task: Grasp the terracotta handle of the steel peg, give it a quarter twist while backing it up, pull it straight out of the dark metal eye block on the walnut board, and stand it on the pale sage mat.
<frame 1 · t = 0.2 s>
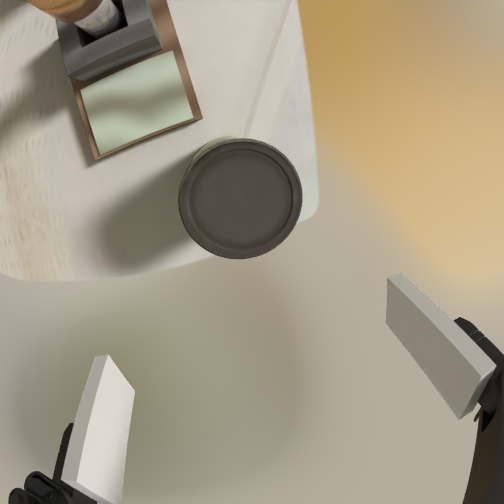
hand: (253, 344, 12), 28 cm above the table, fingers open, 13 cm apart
board: (127, 67, 29), on the table
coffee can: (229, 175, 37), on the table
peg: (115, 32, 25), point 2 cm above the table, touching board
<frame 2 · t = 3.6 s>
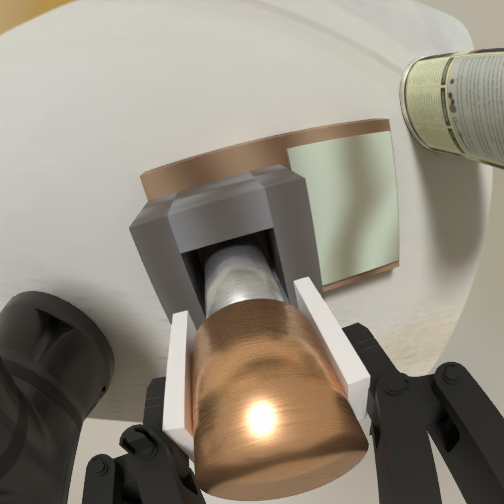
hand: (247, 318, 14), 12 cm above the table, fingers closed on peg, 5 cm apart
board: (285, 218, 25), on the table
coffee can: (435, 103, 22), on the table
peg: (230, 242, 23), point 2 cm above the table, touching board, gripper
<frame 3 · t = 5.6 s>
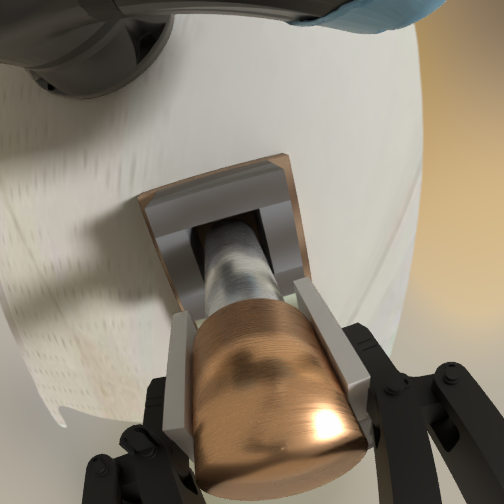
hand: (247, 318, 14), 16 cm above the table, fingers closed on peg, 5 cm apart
board: (237, 264, 31), on the table
peg: (230, 242, 23), point 7 cm above the table, touching gripper
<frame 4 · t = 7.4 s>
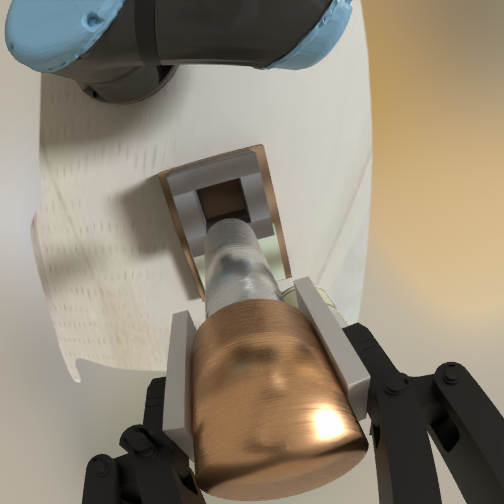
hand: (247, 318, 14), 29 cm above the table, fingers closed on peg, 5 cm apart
board: (228, 224, 42), on the table
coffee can: (301, 307, 50), on the table
peg: (230, 243, 23), point 19 cm above the table, touching gripper
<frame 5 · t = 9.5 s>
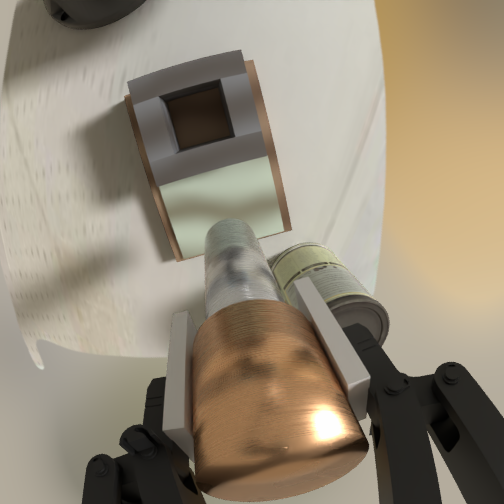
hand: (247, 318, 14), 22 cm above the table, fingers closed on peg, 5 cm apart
board: (210, 160, 32), on the table
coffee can: (304, 275, 40), on the table
peg: (230, 243, 23), point 12 cm above the table, touching gripper
when the fingers open (13 cm above the table, at t = 11.4 s): peg stays where it is, resting on board.
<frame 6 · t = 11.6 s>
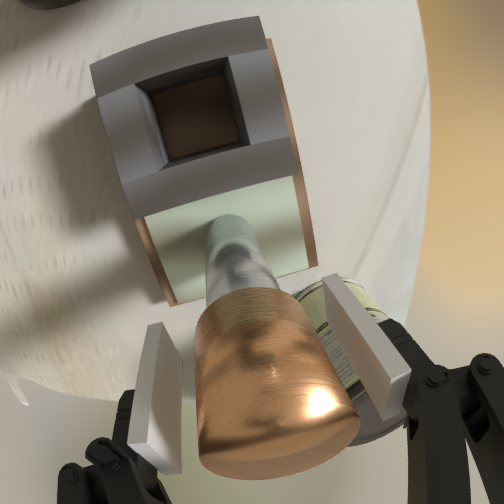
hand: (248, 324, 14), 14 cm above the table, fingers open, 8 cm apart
board: (212, 174, 24), on the table
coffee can: (327, 315, 32), on the table
peg: (229, 238, 24), point 2 cm above the table, touching board
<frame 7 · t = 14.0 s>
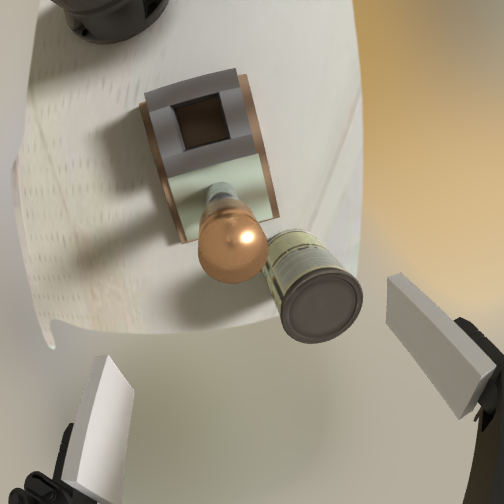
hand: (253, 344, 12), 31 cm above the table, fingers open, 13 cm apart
board: (210, 158, 38), on the table
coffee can: (292, 258, 46), on the table
peg: (221, 196, 38), point 2 cm above the table, touching board
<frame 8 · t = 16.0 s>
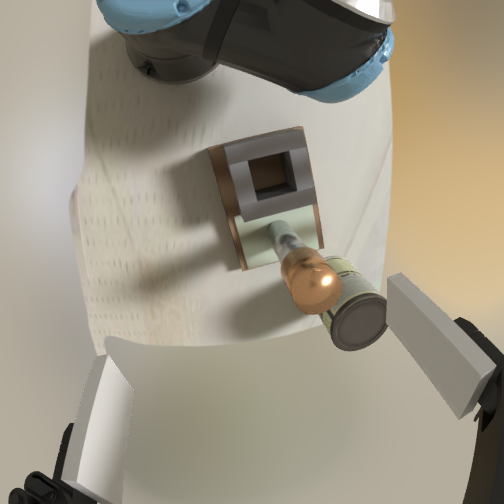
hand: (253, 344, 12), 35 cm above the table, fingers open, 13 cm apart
board: (268, 198, 46), on the table
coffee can: (329, 279, 54), on the table
peg: (278, 232, 46), point 2 cm above the table, touching board
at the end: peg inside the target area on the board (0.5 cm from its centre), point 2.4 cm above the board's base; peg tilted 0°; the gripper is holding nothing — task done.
